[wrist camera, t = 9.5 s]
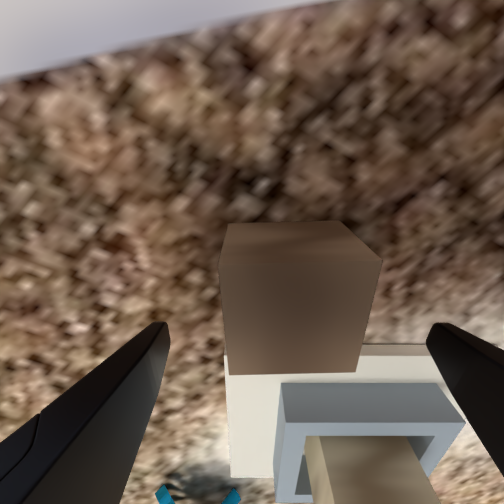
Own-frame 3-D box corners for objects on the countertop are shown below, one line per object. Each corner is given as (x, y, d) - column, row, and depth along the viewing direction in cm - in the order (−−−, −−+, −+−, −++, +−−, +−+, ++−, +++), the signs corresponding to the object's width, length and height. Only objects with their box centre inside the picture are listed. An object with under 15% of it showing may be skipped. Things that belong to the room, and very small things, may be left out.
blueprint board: (495, 344, 14) (553, 394, 11) (419, 464, 20) (445, 515, 17) (225, 343, 14) (219, 394, 11) (231, 465, 20) (228, 516, 17)
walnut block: (338, 219, 11) (382, 260, 7) (326, 307, 13) (355, 372, 9) (228, 222, 11) (217, 264, 7) (234, 309, 13) (229, 375, 9)
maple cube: (389, 405, 15) (448, 518, 11) (371, 447, 17) (414, 555, 13) (311, 405, 15) (338, 518, 11) (303, 447, 17) (322, 556, 13)
